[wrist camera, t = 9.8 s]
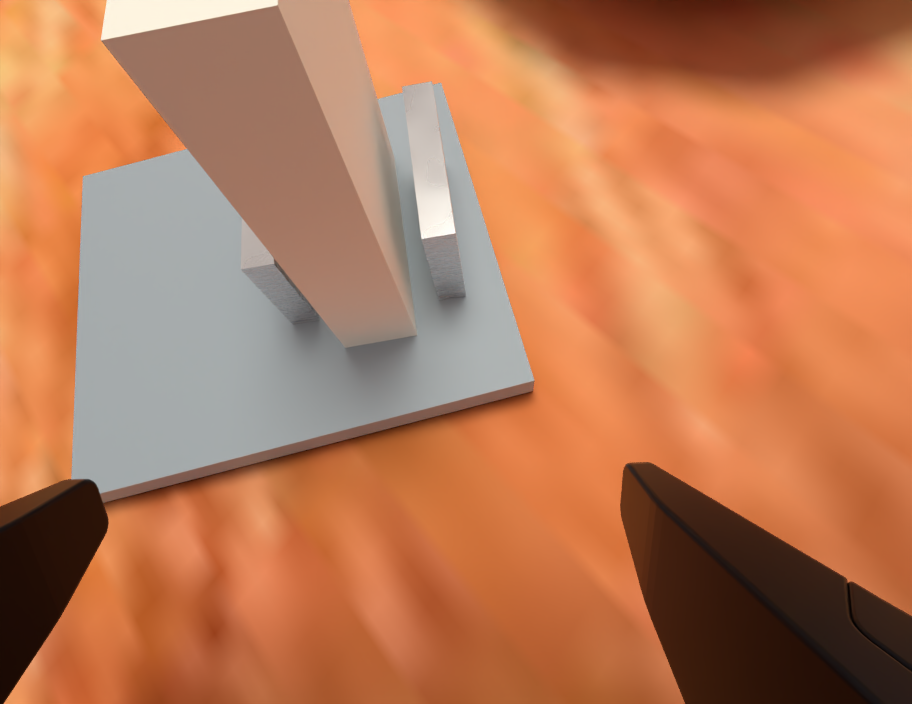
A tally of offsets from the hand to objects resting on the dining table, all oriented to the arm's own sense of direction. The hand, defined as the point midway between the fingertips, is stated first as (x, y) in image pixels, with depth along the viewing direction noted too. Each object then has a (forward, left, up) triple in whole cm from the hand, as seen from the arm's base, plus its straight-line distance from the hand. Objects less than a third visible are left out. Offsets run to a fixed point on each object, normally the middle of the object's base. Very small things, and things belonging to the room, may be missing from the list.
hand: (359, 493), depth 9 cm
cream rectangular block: (+9, +5, -8) cm, 13 cm away
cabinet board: (+7, +9, -9) cm, 14 cm away
